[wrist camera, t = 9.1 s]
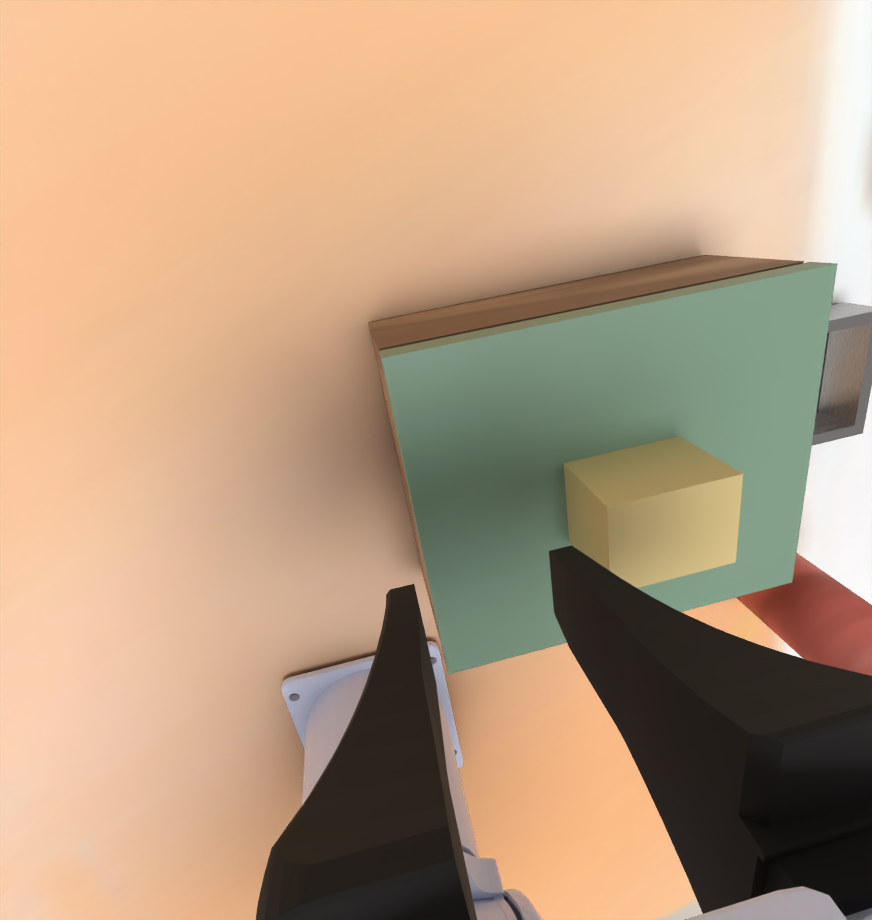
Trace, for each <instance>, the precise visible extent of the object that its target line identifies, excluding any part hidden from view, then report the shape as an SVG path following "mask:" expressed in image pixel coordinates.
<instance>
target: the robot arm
mask: <svg viewBox="0 0 872 920" xmlns="http://www.w3.org/2000/svg"><path fill="white" fill-rule="evenodd" d="M549 560H550V572H551V584H552V595H553V607H554V614H555V616H556V619H557V621H558V623H559V625H560V628H561V630H562V632H563V635H564V637H565V639H566V641H567V643H568V645H569V648H570V649H571V651H572V653H573V654H574V656H575V658H576V660H577V661H578V663H579V665H580V666H581V668H582V670H583V671H584V673H585V675H586V676H587V678H588V680H589V681H590V683H591V684H592V686H593V688H594V689H595V691H596V693H597V694H598V696H599V698H600V699H601V701H602V703H603V704H604V706H605V708H606V709H607V711H608V712H609V714H610V716H611V717H612V719H613V721H614V722H615V724H616V726H617V728H618V729H619V731H620V733H621V735H622V737H623V739H624V740H625V742H626V744H627V746H628V748H629V750H630V753H631V755H632V757H633V759H634V761H635V763H636V765H637V767H638V769H639V771H640V773H641V775H642V777H643V779H644V782H645V784H646V786H647V788H648V790H649V792H650V795H651V797H652V799H653V801H654V803H655V805H656V808H657V810H658V812H659V814H660V816H661V818H662V820H663V823H664V825H665V827H666V829H667V832H668V834H669V836H670V838H671V841H672V843H673V845H674V847H675V850H676V852H677V854H678V856H679V859H680V861H681V863H682V866H683V868H684V870H685V872H686V875H687V877H688V879H689V882H690V884H691V886H692V889H693V891H694V894H695V896H696V898H697V901H698V903H699V905H700V908H701V910H702V912H703V914H701V915H698V916H695V917H692V918H689V919H685V920H872V676H870V675H866V674H862V673H858V672H854V671H849V670H845V669H841V668H837V667H833V666H828V665H824V664H820V663H816V662H813V661H809V660H806V659H802V658H799V657H796V656H792V655H789V654H786V653H782V652H779V651H776V650H773V649H770V648H767V647H764V646H761V645H758V644H755V643H753V642H750V641H747V640H745V639H742V638H739V637H737V636H734V635H731V634H729V633H726V632H724V631H721V630H719V629H716V628H714V627H712V626H709V625H707V624H705V623H703V622H701V621H699V620H696V619H694V618H692V617H690V616H688V615H685V614H683V613H681V612H679V611H677V610H675V609H673V608H672V607H670V606H668V605H666V604H664V603H662V602H661V601H659V600H657V599H655V598H653V597H651V596H650V595H648V594H646V593H644V592H643V591H641V590H639V589H638V588H636V587H634V586H633V585H631V584H630V583H628V582H626V581H625V580H623V579H621V578H620V577H618V576H617V575H615V574H614V573H612V572H611V571H609V570H608V569H606V568H605V567H603V566H602V565H600V564H599V563H597V562H596V561H594V560H593V559H591V558H590V557H588V556H587V555H585V554H584V553H582V552H581V551H579V550H578V549H576V548H575V547H573V546H572V545H571V546H567V547H563V548H559V549H555V550H550V551H549ZM431 657H434V658H433V659H431ZM281 692H282V694H283V697H284V700H285V702H286V705H287V707H288V710H289V712H290V715H291V717H292V720H293V722H294V725H295V727H296V730H297V732H298V735H299V737H300V740H301V742H302V745H303V747H304V750H305V756H304V775H303V794H302V807H301V808H300V809H299V811H298V812H297V814H296V815H295V816H294V818H293V819H292V821H291V822H290V823H289V825H288V826H287V828H286V829H285V830H284V832H283V833H282V835H281V836H280V837H279V839H278V840H277V842H276V843H275V844H274V846H273V847H272V849H271V852H270V856H269V859H268V863H267V867H266V870H265V874H264V878H263V883H262V887H261V892H260V896H259V901H258V906H257V914H256V920H543V918H542V917H541V916H540V914H539V913H538V912H537V911H536V910H535V908H534V906H533V905H532V903H531V902H530V901H529V899H528V898H527V897H526V896H525V895H524V894H523V893H522V892H520V891H518V890H515V889H508V890H503V887H502V883H501V880H500V876H499V872H498V868H497V864H496V860H495V859H493V858H479V854H478V849H477V845H476V841H475V837H474V832H473V828H472V824H471V820H470V815H469V811H468V807H467V803H466V798H465V794H464V790H463V786H462V781H461V777H460V773H459V768H460V767H462V765H463V758H462V753H461V748H460V744H459V739H458V734H457V730H456V725H455V721H454V716H453V711H452V707H451V702H450V697H449V693H448V688H447V683H446V679H445V674H444V670H443V665H442V660H441V656H440V651H439V647H438V645H437V643H435V642H433V641H427V639H426V635H425V630H424V626H423V622H422V617H421V613H420V608H419V604H418V599H417V595H416V591H415V586H414V584H412V585H408V586H403V587H399V588H395V589H391V590H390V591H389V592H388V593H387V595H386V609H385V616H384V621H383V626H382V631H381V635H380V639H379V642H378V646H377V650H376V654H375V655H373V656H369V657H366V658H362V659H358V660H354V661H350V662H346V663H343V664H339V665H335V666H331V667H327V668H323V669H320V670H316V671H312V672H308V673H304V674H300V675H297V676H293V677H289V678H287V679H285V680H284V681H283V682H282V686H281ZM293 693H296V694H297V695H292V694H293Z"/></svg>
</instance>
